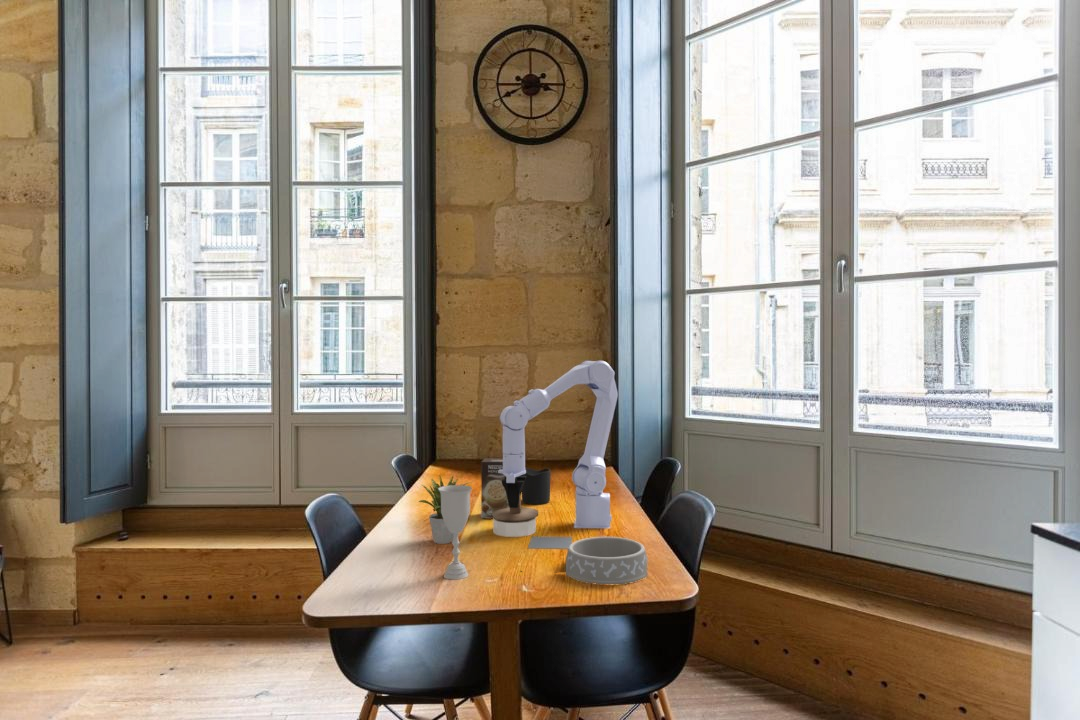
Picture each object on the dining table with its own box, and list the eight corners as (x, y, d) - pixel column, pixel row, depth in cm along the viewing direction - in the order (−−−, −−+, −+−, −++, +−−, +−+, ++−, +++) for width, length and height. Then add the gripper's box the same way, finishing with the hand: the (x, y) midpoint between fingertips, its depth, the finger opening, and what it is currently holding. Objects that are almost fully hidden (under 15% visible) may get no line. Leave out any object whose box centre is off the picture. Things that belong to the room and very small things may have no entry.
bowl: (537, 528, 172) (537, 513, 172) (533, 539, 161) (533, 523, 161) (497, 527, 173) (497, 512, 173) (490, 538, 162) (490, 522, 162)
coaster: (572, 539, 161) (572, 537, 161) (570, 551, 151) (570, 548, 151) (532, 538, 162) (532, 536, 162) (527, 550, 152) (527, 548, 152)
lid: (540, 509, 172) (539, 489, 172) (536, 520, 161) (535, 499, 161) (496, 510, 173) (496, 490, 173) (489, 521, 162) (488, 500, 162)
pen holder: (538, 497, 210) (537, 466, 210) (557, 502, 203) (556, 470, 203) (514, 501, 204) (514, 469, 204) (533, 506, 197) (533, 473, 197)
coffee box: (480, 518, 183) (479, 461, 183) (484, 513, 189) (483, 458, 189) (512, 519, 182) (512, 461, 182) (515, 513, 188) (515, 458, 188)
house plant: (468, 551, 152) (467, 481, 152) (409, 550, 153) (408, 480, 153) (477, 534, 166) (477, 470, 166) (424, 534, 167) (423, 470, 167)
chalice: (480, 575, 134) (479, 488, 134) (453, 583, 130) (452, 493, 130) (458, 567, 140) (457, 483, 140) (432, 575, 135) (431, 488, 135)
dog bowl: (561, 584, 129) (561, 557, 129) (570, 557, 148) (570, 533, 148) (648, 588, 127) (648, 561, 127) (647, 559, 145) (646, 535, 145)
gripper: (502, 449, 174) (502, 499, 174) (494, 457, 160) (494, 512, 160) (528, 449, 174) (529, 500, 174) (522, 457, 159) (523, 512, 159)
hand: (514, 506), depth 167 cm, fingers closed on lid, 3 cm apart
